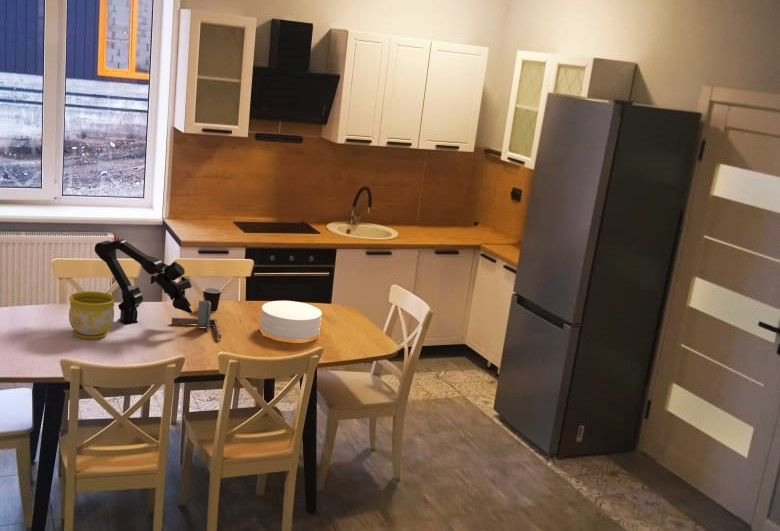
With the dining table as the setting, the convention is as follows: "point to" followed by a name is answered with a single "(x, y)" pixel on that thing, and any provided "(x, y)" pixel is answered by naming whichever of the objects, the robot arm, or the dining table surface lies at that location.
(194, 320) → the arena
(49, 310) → the dining table surface
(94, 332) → the flowerpot
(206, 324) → the bracket
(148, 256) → the robot arm
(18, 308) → the dining table surface
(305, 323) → the plate stack
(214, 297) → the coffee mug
